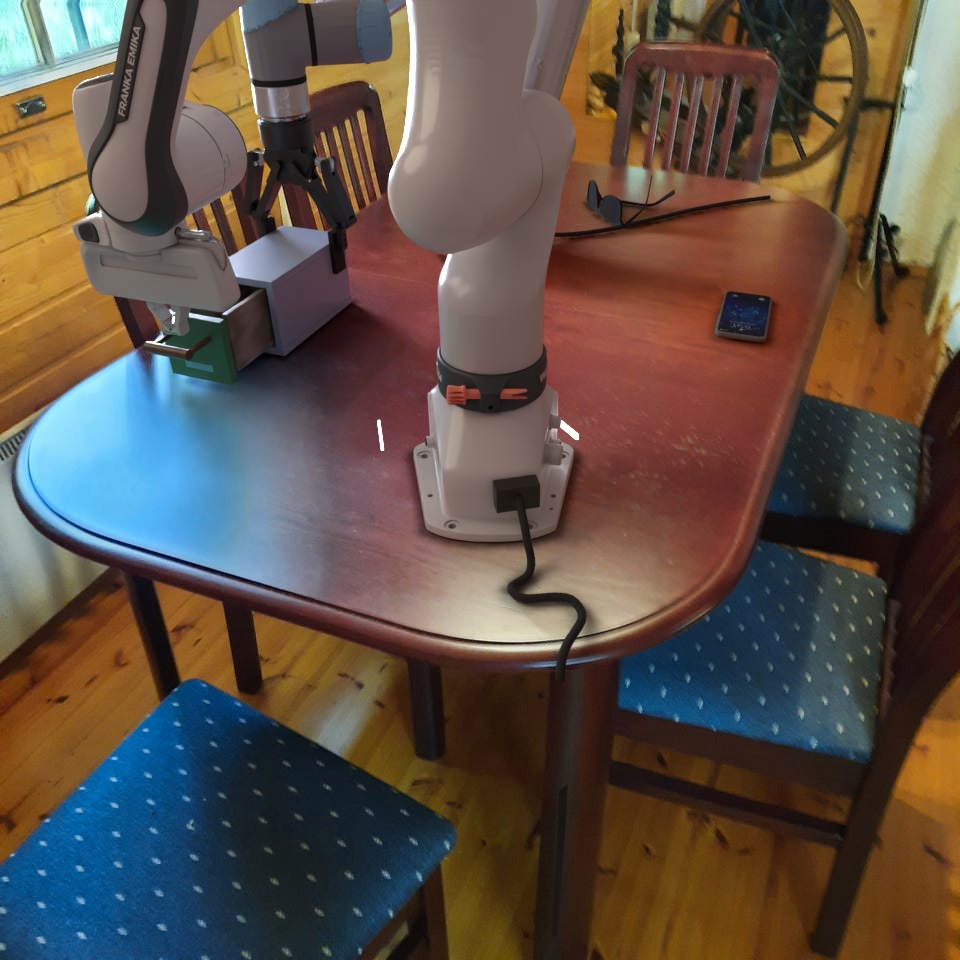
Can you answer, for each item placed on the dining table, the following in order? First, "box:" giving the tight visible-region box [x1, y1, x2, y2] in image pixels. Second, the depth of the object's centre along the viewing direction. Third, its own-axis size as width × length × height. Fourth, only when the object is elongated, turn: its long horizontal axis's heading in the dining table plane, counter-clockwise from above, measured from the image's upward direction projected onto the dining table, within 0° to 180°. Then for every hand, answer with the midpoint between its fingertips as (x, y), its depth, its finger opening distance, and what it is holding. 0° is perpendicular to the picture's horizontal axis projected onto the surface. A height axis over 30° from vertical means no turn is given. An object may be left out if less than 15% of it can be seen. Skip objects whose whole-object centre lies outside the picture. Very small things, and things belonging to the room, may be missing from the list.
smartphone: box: [714, 290, 774, 343], centre depth 128 cm, size 7×1×15 cm
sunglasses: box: [585, 175, 676, 226], centre depth 165 cm, size 17×14×5 cm
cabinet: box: [228, 225, 353, 357], centre depth 127 cm, size 20×11×11 cm, turn 158°
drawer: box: [142, 284, 276, 386], centre depth 116 cm, size 24×10×9 cm, turn 158°
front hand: (176, 332), depth 107 cm, fingers closed
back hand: (306, 265), depth 132 cm, fingers closed on cabinet, 11 cm apart
